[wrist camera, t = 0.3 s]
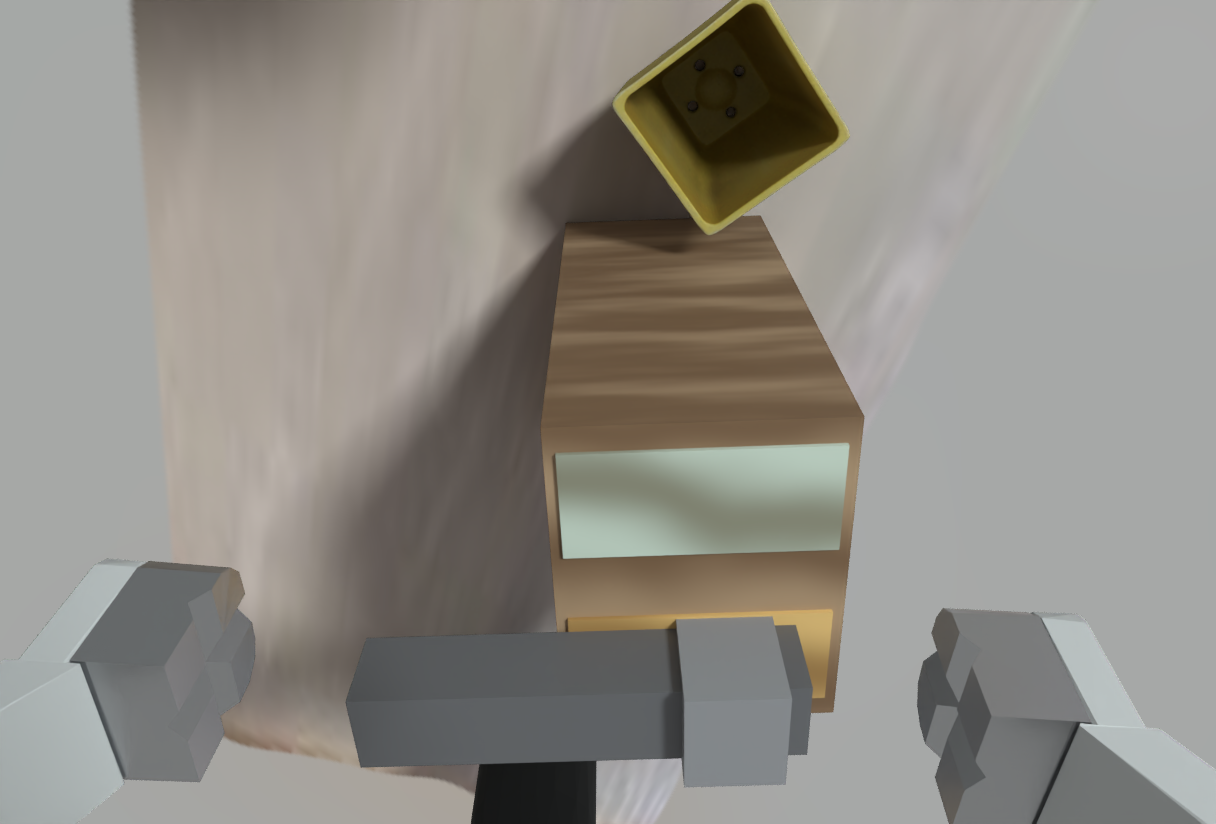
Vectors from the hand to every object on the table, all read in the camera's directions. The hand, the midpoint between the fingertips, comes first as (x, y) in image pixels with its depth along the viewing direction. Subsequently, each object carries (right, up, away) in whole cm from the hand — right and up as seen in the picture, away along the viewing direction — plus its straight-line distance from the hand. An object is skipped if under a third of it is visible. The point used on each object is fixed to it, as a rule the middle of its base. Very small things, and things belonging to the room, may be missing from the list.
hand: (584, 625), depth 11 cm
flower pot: (+6, +21, +43) cm, 48 cm away
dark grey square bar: (-1, -8, +29) cm, 30 cm away
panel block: (+4, +8, +50) cm, 51 cm away
